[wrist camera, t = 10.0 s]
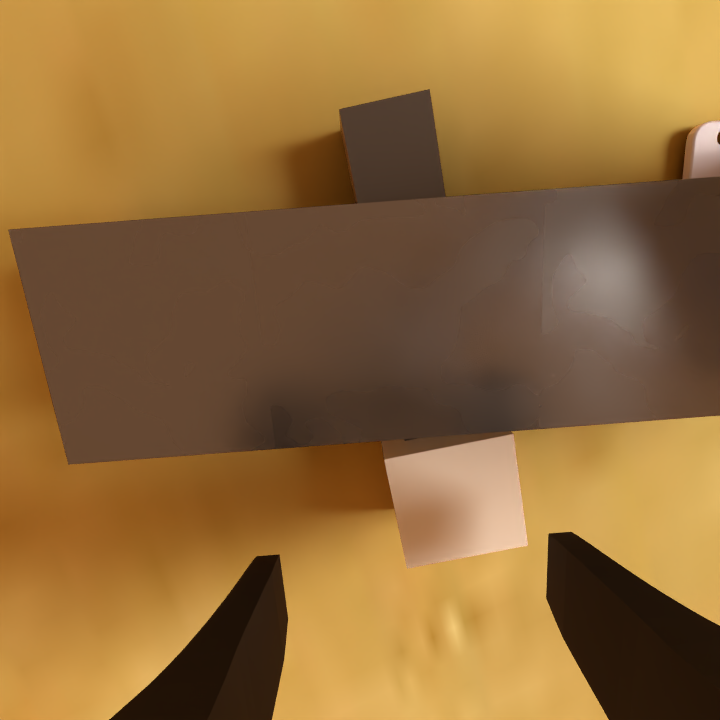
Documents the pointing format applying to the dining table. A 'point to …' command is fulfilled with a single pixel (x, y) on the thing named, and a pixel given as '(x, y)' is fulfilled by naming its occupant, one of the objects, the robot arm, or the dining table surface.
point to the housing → (378, 319)
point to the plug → (445, 453)
